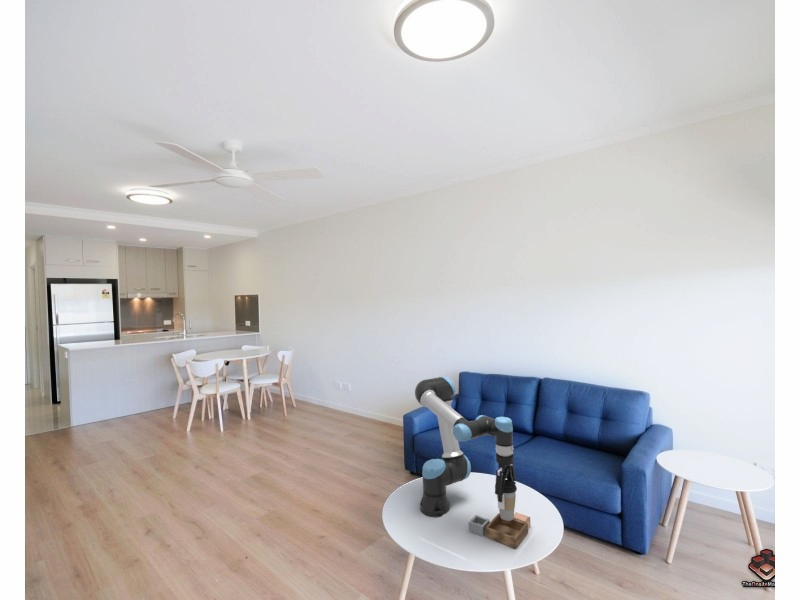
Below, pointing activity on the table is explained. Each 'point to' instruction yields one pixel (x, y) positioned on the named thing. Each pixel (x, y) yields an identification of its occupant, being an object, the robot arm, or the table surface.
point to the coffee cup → (508, 501)
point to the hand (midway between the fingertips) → (506, 503)
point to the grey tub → (476, 527)
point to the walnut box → (506, 531)
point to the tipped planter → (522, 518)
